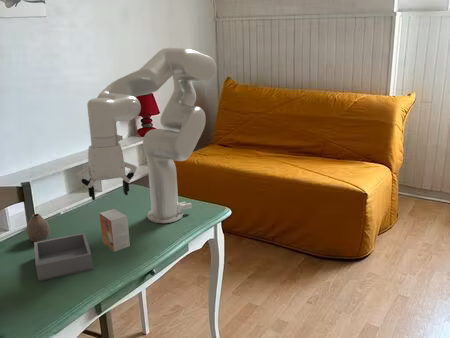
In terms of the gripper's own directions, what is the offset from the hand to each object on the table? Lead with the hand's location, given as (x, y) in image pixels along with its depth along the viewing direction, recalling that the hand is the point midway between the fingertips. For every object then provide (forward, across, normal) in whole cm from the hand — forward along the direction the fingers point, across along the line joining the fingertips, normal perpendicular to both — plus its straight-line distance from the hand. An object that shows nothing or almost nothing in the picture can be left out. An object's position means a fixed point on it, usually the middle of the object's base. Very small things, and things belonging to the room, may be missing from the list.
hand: (109, 196), depth 139 cm
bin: (+17, +15, +4) cm, 23 cm away
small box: (+17, -1, 0) cm, 17 cm away
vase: (+17, +21, -14) cm, 31 cm away
